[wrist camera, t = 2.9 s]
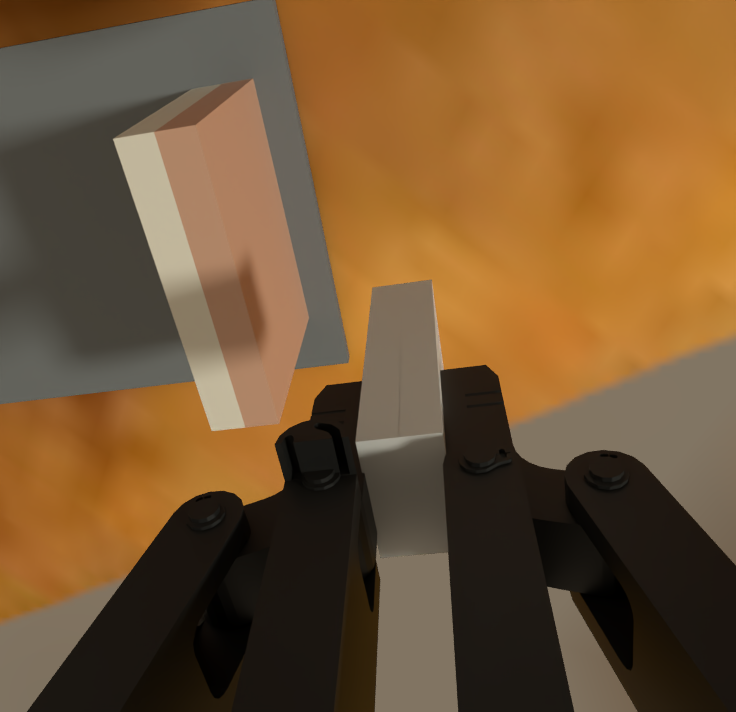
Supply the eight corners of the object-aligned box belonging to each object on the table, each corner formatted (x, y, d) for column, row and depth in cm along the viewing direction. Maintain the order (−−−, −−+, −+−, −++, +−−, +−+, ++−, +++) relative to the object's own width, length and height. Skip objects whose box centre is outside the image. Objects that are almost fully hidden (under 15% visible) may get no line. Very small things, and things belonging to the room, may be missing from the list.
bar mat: (-172, 80, 28) (-183, 83, 27) (274, -5, 25) (271, -3, 25) (-9, 398, 35) (-15, 405, 34) (349, 356, 33) (348, 362, 32)
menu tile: (191, 89, 26) (112, 138, 20) (253, 78, 26) (195, 124, 19) (256, 324, 31) (211, 431, 24) (308, 317, 31) (279, 423, 24)
